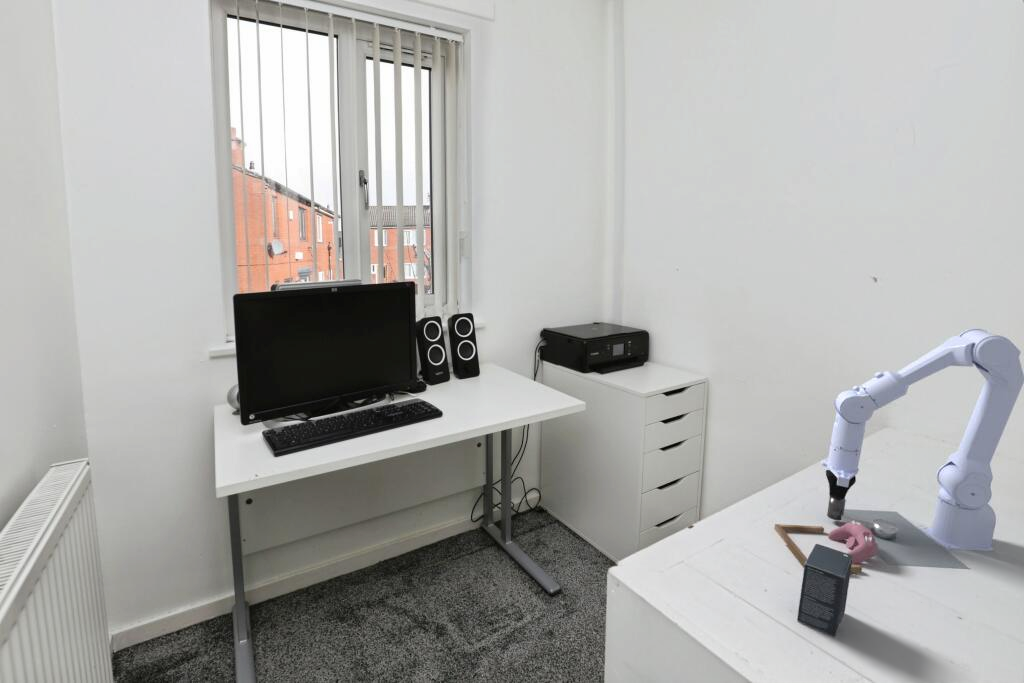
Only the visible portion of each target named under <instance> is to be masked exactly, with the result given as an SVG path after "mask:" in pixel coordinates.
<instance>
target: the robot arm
mask: <svg viewBox="0 0 1024 683" xmlns="http://www.w3.org/2000/svg"><path fill="white" fill-rule="evenodd" d="M1021 352H1022V351H1021V350H1020V349H1019V348H1018V347H1017V346H1016V345H1015V344H1014V343H1013V342H1012V340H1010V339H1009V338H1007V337H1005V336H1004V335H1003V336H1002V335H997V334H995V333H991V332H988V331H987V330H984V329H981V328H969V329H967V330H963V331H962V332H961V333H960V334H959V335H953V336H952V337H949V338H948V339H947V340H946V341H944V342H943V343H942V344H940V345H939V346H937V347H935V348H934V349H932V350H931V351H929V352H927V353H926V354H924V355H923V356H920V357H919V358H918V359H916V360H914V361H913V362H911V363H909V364H907V365H906V366H905V367H903V368H902V369H900V370H898V371H891V370H885V371H883V372H881V371H877V372H876V373H874V377H873V378H871V379H869V380H868V381H867V382H864V383H862V384H860V385H854V386H853V387H852V390H849V389H848V390H845V391H842V392H840V393H839V394H838V395H837V397H835V399H834V400H833V406H834V408H835V410H836V413H835V417H834V418H835V419H834V422H833V428H832V433H831V439H830V445H829V452H828V457H827V460H825V459H822V460H821V462H820V465H821V466H822V467H826V468H827V469H826V470H825V476H826V479H827V481H828V487H829V492H828V493H829V496H828V497H830V496H831V495H837V496H841V497H843V498H845V499H846V495H847V493H848V492H849V490H850V489H851V488H852V487H853V486H854V484H856V481H857V478H856V475H857V474H858V473H859V471H860V470H859V469H860V468H859V463H860V460H861V459H860V458H861V453H862V447H863V441H864V436H865V428H866V422H868V421H869V420H870V419H871V418H872V416H873V414H874V412H875V411H877V410H879V409H881V408H882V407H885V406H887V405H889V404H890V403H892V402H894V401H896V400H898V399H900V398H901V397H904V396H905V395H907V393H908V389H909V387H910V386H911V385H913V384H915V383H917V382H919V381H921V380H923V379H926V378H927V377H929V376H932V375H934V374H936V373H938V372H940V371H942V370H944V369H946V368H948V367H953V366H954V367H971V368H972V367H975V368H976V369H977V370H978V371H979V373H980V374H981V375H982V376H983V378H984V379H985V381H984V385H983V386H982V389H981V392H980V394H979V397H978V399H977V401H976V404H975V406H974V409H973V412H972V414H971V417H970V419H969V420H968V424H967V427H966V429H965V431H964V434H963V436H962V439H961V441H960V445H959V447H958V449H957V451H955V452H953V453H951V454H949V456H948V458H947V460H946V462H945V463H944V464H943V465H941V466H940V467H939V468H938V469H937V471H936V480H937V482H938V484H939V485H940V489H939V491H938V493H937V499H936V504H935V509H934V514H933V519H932V524H931V527H926V526H924V527H923V526H920V530H921V531H922V532H923V533H925V534H926V535H927V536H929V537H930V538H931V539H932V540H934V541H935V542H936V543H938V544H939V545H940V546H941V547H943V548H944V549H946V550H965V551H966V550H967V551H968V550H969V551H981V552H982V551H984V552H986V551H987V552H994V548H993V547H991V546H992V542H993V537H994V533H995V528H996V524H997V516H996V513H995V511H994V508H993V507H992V506H991V505H990V504H989V503H990V501H991V499H992V494H993V492H992V489H991V487H992V486H991V485H992V481H993V479H994V477H993V472H992V467H991V462H992V459H993V457H994V454H995V452H996V449H997V447H998V445H999V443H1000V440H1001V439H1002V436H1003V432H1004V430H1005V428H1006V426H1007V423H1008V421H1009V419H1010V416H1011V414H1012V412H1013V410H1014V407H1015V404H1016V402H1017V400H1018V397H1019V395H1020V392H1021V391H1022V388H1023V385H1024V371H1023V367H1022V364H1021V363H1022V362H1021V361H1020V355H1021Z"/></svg>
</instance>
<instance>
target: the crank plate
mask: <svg viewBox="0 0 1024 683" xmlns="http://www.w3.org/2000/svg"><path fill="white" fill-rule="evenodd" d="M844 513H848V514H852V515H856V516H860V517H864V518H868V519H872V520H874V519H883V520H887V521H890V522H892V523H894V524H896V525H897V526H898V530H897V536H896V539H893V540H889V539H884V538H880V537H878V536H876V535H874V534H873V533H872V534H873V535H874V538H875V542H876V543H877V544H878V551H877V553H876V554H877V555H878V556H879V557H880V558H881V559H882V560H883V561H884V562H885V563H887V564H888V566H889V565H890V566H904V567H906V566H908V567H927V568H941V569H942V568H944V569H965V570H971V568H970V567H969V566H967V565H966V564H964V562H962V561H961V560H959V559H958V558H957V557H956V556H955V555H953V554H952V553H950V552H949V551H948V549H946V548H945V547H943V546H942V545H941V544H940V543H938V542H937V541H936V540H934V539H933V538H932V537H930V536H929V535H928V534H927V533H925V532H924V531H923V530H921V529H920V528H918V527H917V526H916V525H914V524H913V523H912V522H910V521H909V520H908V519H906V518H905V517H904V516H903V515H901V514H900V513H899V512H898V511H888V510H870V509H864V510H863V509H849V508H844ZM841 521H842V522H843V523H844V525H845V524H846V523H848V521H845V520H841ZM865 527H867V526H865ZM867 528H868V529H869V530H870V531H871V527H867Z"/></svg>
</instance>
